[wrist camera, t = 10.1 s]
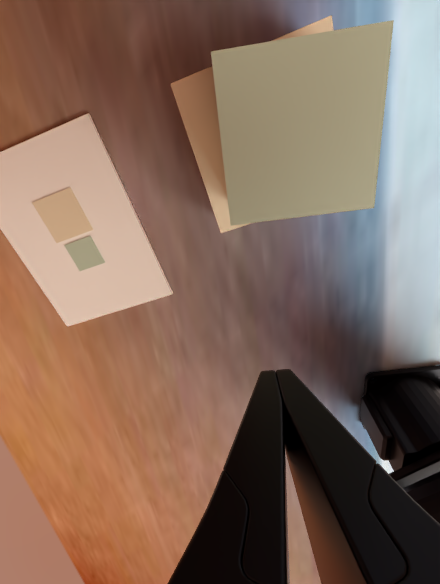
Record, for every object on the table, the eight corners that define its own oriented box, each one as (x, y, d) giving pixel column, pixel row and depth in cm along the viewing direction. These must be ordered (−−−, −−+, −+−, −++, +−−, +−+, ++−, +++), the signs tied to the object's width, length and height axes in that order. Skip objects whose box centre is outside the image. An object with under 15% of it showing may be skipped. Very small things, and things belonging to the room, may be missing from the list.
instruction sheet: (89, 113, 16) (87, 113, 16) (173, 292, 22) (172, 294, 21) (-38, 169, 18) (-42, 169, 18) (68, 325, 23) (66, 327, 23)
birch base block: (306, 45, 15) (331, 14, 12) (328, 181, 18) (353, 190, 15) (182, 97, 16) (170, 83, 13) (221, 217, 19) (220, 233, 16)
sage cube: (333, 65, 12) (393, 20, 8) (328, 188, 15) (374, 207, 10) (216, 84, 13) (210, 51, 8) (229, 201, 15) (230, 225, 10)
